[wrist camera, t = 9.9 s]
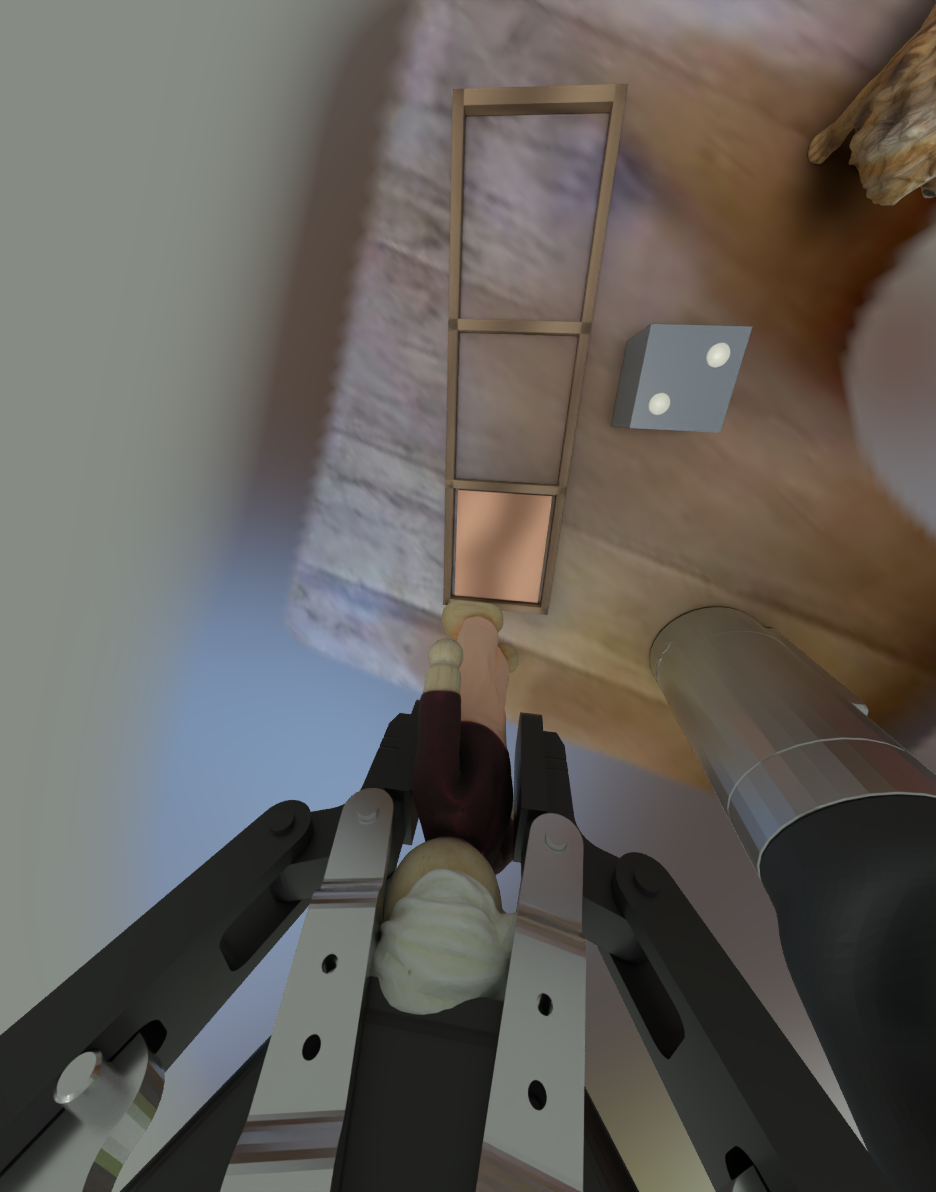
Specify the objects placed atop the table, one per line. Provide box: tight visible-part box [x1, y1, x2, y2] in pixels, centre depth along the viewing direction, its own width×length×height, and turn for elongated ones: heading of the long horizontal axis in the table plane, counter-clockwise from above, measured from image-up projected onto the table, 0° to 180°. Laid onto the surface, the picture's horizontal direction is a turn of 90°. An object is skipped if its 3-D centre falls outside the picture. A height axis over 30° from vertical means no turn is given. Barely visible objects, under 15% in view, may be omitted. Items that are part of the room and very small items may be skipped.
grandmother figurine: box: [370, 600, 519, 1015], centre depth 12 cm, size 8×4×13 cm, turn 30°
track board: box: [443, 84, 628, 615], centre depth 27 cm, size 9×31×1 cm, turn 177°
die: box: [611, 324, 752, 433], centre depth 23 cm, size 5×5×5 cm
